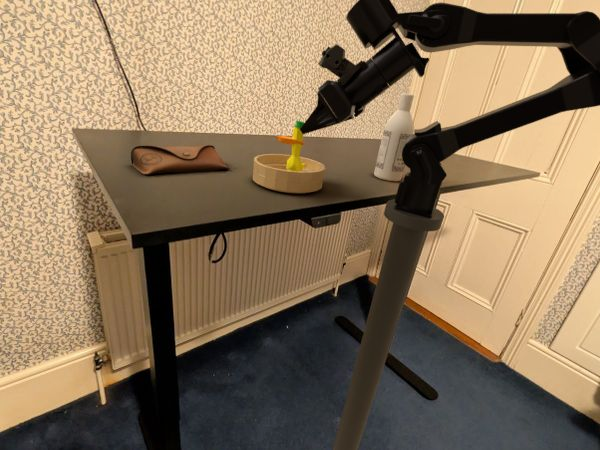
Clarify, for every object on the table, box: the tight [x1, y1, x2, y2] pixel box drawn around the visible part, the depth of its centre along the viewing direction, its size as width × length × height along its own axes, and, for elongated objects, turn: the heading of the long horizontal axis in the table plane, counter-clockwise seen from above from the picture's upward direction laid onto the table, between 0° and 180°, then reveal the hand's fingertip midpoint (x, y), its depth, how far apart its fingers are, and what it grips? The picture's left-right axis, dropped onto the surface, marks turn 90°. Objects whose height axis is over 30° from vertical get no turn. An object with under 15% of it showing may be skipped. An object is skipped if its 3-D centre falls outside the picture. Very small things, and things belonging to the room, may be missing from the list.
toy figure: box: [276, 120, 308, 172], centre depth 63 cm, size 7×4×12 cm, turn 77°
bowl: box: [251, 153, 326, 194], centre depth 65 cm, size 14×14×4 cm
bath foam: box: [373, 93, 415, 182], centre depth 79 cm, size 7×7×20 cm
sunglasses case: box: [130, 144, 230, 175], centre depth 67 cm, size 18×7×7 cm
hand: (308, 129), depth 61 cm, fingers open, 9 cm apart
